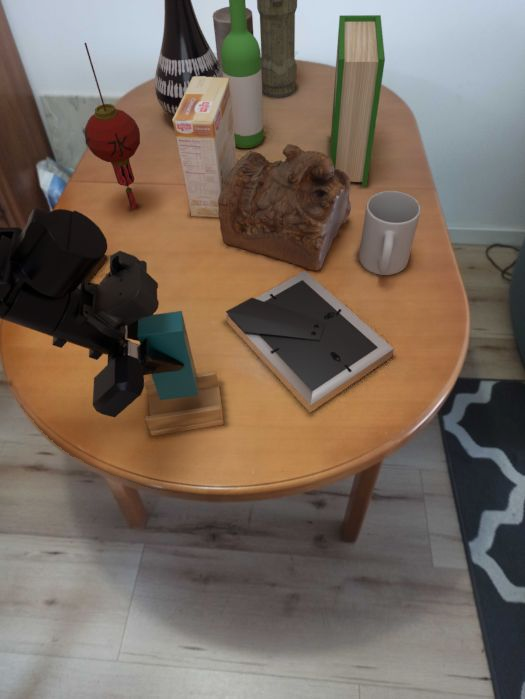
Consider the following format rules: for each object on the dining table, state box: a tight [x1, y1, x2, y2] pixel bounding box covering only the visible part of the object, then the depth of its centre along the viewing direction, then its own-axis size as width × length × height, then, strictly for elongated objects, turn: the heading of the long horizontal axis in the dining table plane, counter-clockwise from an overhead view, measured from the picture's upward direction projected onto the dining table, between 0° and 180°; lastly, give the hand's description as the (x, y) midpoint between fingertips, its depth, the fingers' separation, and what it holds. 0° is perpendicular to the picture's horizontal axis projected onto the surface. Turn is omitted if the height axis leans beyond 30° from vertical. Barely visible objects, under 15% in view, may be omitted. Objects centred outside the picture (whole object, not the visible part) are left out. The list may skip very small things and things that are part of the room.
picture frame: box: [225, 270, 395, 414], centre depth 77 cm, size 16×3×21 cm
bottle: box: [221, 0, 265, 149], centre depth 101 cm, size 8×8×30 cm
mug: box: [358, 190, 421, 276], centre depth 83 cm, size 12×8×11 cm
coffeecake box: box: [171, 76, 238, 219], centre depth 94 cm, size 15×7×20 cm, turn 171°
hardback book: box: [329, 14, 386, 188], centre depth 97 cm, size 18×7×24 cm, turn 174°
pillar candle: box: [211, 6, 254, 71], centre depth 126 cm, size 10×10×15 cm
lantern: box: [84, 42, 141, 211], centre depth 88 cm, size 10×10×30 cm
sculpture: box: [218, 143, 352, 271], centre depth 89 cm, size 19×18×20 cm
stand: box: [144, 370, 225, 436], centre depth 70 cm, size 10×7×4 cm, turn 99°
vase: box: [154, 0, 223, 119], centre depth 108 cm, size 16×16×30 cm
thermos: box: [256, 0, 298, 99], centre depth 112 cm, size 9×12×35 cm
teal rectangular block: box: [138, 310, 198, 400], centre depth 62 cm, size 5×3×13 cm, turn 98°
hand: (181, 356), depth 62 cm, fingers closed on teal rectangular block, 3 cm apart
